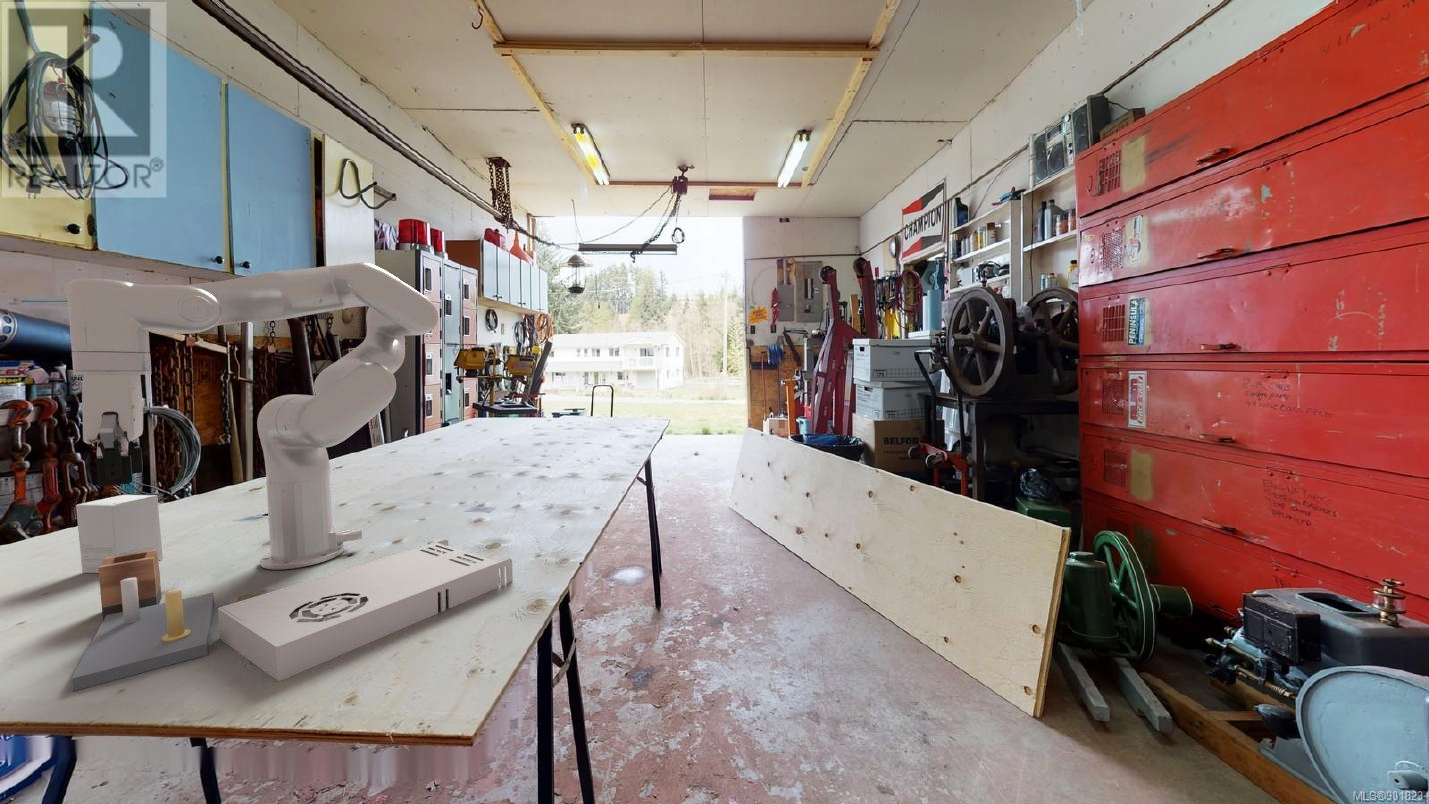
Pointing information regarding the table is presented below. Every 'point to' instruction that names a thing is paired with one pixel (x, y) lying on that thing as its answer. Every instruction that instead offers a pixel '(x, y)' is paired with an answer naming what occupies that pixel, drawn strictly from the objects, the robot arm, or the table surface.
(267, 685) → the table surface
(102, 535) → the supplement box
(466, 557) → the power supply unit
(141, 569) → the sleeve
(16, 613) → the table surface
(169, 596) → the pin board
